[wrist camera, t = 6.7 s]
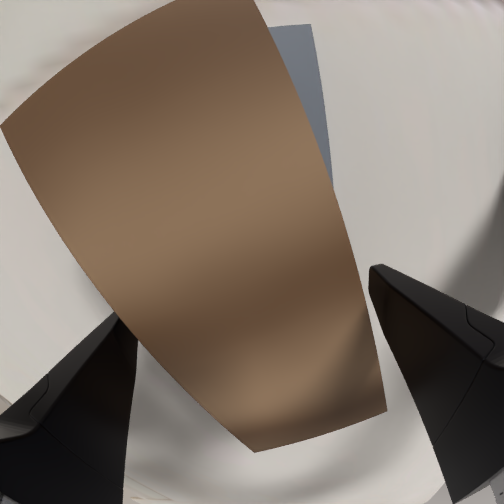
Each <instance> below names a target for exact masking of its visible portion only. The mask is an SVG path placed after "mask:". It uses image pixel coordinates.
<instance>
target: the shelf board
mask: <svg viewBox="0 0 504 504" xmlns="http://www.w3.org/2000/svg"><path fill="white" fill-rule="evenodd" d="M0 128H1V130H2V132H3V134H4V136H5V139H6V141H7V143H8V145H9V147H10V149H11V151H12V153H13V155H14V157H15V159H16V161H17V163H18V165H19V167H20V169H21V171H22V173H23V174H24V176H25V178H26V180H27V182H28V184H29V185H30V187H31V189H32V191H33V193H34V194H35V196H36V198H37V200H38V201H39V203H40V205H41V206H42V208H43V210H44V211H45V213H46V215H47V216H48V218H49V220H50V221H51V223H52V224H53V226H54V228H55V229H56V231H57V232H58V234H59V235H60V237H61V238H62V240H63V241H64V243H65V244H66V246H67V247H68V249H69V250H70V252H71V253H72V255H73V256H74V258H75V259H76V261H77V262H78V263H79V265H80V266H81V268H82V269H83V271H84V272H85V273H86V275H87V276H88V277H89V279H90V280H91V281H92V283H93V284H94V286H95V287H96V288H97V290H98V291H99V292H100V293H101V295H102V296H103V297H104V299H105V300H106V301H107V303H108V304H109V305H110V306H111V308H112V309H113V310H114V311H115V313H116V314H117V315H118V316H119V318H120V319H121V320H122V321H123V322H124V324H125V325H126V326H127V327H128V328H129V330H130V331H131V332H132V333H133V334H134V335H135V337H136V338H137V339H138V340H139V341H140V342H141V344H142V345H143V346H144V347H145V348H146V349H147V350H148V351H149V353H150V354H151V355H152V356H153V357H154V358H155V359H156V360H157V361H158V362H159V364H160V365H161V366H162V367H163V368H164V369H165V370H166V371H167V372H168V373H169V374H170V375H171V376H172V377H173V378H174V379H175V380H176V381H177V382H178V383H179V384H180V385H181V386H182V387H183V389H184V390H185V391H186V392H188V393H189V394H190V395H191V396H192V397H193V398H194V399H195V400H196V401H197V402H198V403H199V404H200V405H201V406H202V407H203V408H204V409H205V410H206V411H207V412H208V413H209V414H210V415H211V416H213V417H214V418H215V419H216V420H217V421H218V422H219V423H220V424H221V425H222V426H224V427H225V428H226V429H227V430H228V431H229V432H230V433H232V434H233V435H234V436H235V437H236V438H237V439H238V440H240V441H241V442H242V443H243V444H244V445H246V446H247V447H248V448H249V449H250V450H252V451H253V452H254V453H255V452H260V451H264V450H269V449H273V448H277V447H281V446H285V445H289V444H293V443H296V442H300V441H304V440H307V439H310V438H314V437H317V436H320V435H324V434H327V433H330V432H333V431H336V430H339V429H342V428H345V427H347V426H350V425H353V424H356V423H358V422H361V421H364V420H366V419H369V418H372V417H374V416H377V415H379V414H381V413H384V412H386V411H387V406H386V399H385V393H384V387H383V382H382V376H381V371H380V365H379V360H378V355H377V350H376V345H375V341H374V336H373V331H372V327H371V322H370V318H369V314H368V309H367V305H366V301H365V297H364V293H363V289H362V285H361V281H360V277H359V273H358V270H357V266H356V262H355V259H354V255H353V251H352V248H351V244H350V241H349V238H348V234H347V231H346V227H345V224H344V221H343V218H342V214H341V211H340V208H339V205H338V202H337V199H336V196H335V193H334V190H333V187H332V184H331V181H330V178H329V175H328V172H327V169H326V166H325V163H324V161H323V158H322V155H321V152H320V150H319V147H318V144H317V141H316V139H315V136H314V133H313V131H312V128H311V126H310V123H309V121H308V118H307V115H306V113H305V110H304V108H303V106H302V103H301V101H300V98H299V96H298V93H297V91H296V89H295V86H294V84H293V82H292V79H291V77H290V75H289V73H288V70H287V68H286V66H285V64H284V61H283V59H282V57H281V55H280V53H279V50H278V48H277V46H276V44H275V42H274V40H273V38H272V36H271V34H270V32H269V29H268V27H267V25H266V23H265V21H264V19H263V17H262V15H261V13H260V12H259V10H258V8H257V6H256V4H255V2H254V0H175V1H173V2H171V3H169V4H167V5H165V6H162V7H160V8H158V9H157V10H155V11H153V12H151V13H149V14H147V15H145V16H143V17H141V18H140V19H138V20H136V21H134V22H132V23H131V24H129V25H127V26H125V27H124V28H122V29H120V30H119V31H117V32H116V33H114V34H112V35H111V36H109V37H108V38H106V39H104V40H103V41H101V42H100V43H98V44H97V45H95V46H94V47H92V48H91V49H89V50H88V51H87V52H85V53H84V54H82V55H81V56H80V57H78V58H77V59H75V60H74V61H73V62H71V63H70V64H69V65H67V66H66V67H65V68H63V69H62V70H61V71H60V72H58V73H57V74H56V75H55V76H53V77H52V78H51V79H50V80H49V81H47V82H46V83H45V84H44V85H43V86H41V87H40V88H39V89H38V90H37V91H36V92H35V93H33V94H32V95H31V96H30V97H29V98H28V99H27V100H26V101H25V102H24V103H22V104H21V105H20V106H19V107H18V108H17V109H16V110H15V111H14V112H13V113H12V114H11V115H10V116H9V117H8V118H7V119H6V120H5V121H4V122H3V123H2V124H1V125H0Z"/></svg>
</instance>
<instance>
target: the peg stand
mask: <svg viewBox="0 0 504 504" xmlns="http://www.w3.org/2000/svg"><path fill="white" fill-rule="evenodd" d="M268 29H269V32H270V34H271V36H272V38H273V40H274V42H275V44H276V46H277V48H278V50H279V53H280V55H281V57H282V59H283V61H284V64H285V66H286V68H287V70H288V73H289V75H290V77H291V79H292V82H293V84H294V86H295V89H296V91H297V93H298V96H299V98H300V101H301V103H302V106H303V108H304V110H305V113H306V115H307V118H308V121H309V123H310V126H311V128H312V131H313V133H314V136H315V139H316V141H317V144H318V147H319V150H320V152H321V155H322V158H323V161H324V163H325V166H326V169H327V172H328V175H329V178H330V181H331V184H332V187H333V178H332V167H331V157H330V147H329V138H328V130H327V121H326V114H325V106H324V99H323V92H322V85H321V79H320V73H319V67H318V61H317V55H316V49H315V44H314V39H313V33H312V28H311V24H303V25H289V26H278V27H268ZM333 190H334V189H333Z"/></svg>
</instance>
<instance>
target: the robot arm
mask: <svg viewBox="0 0 504 504" xmlns="http://www.w3.org/2000/svg"><path fill="white" fill-rule="evenodd" d="M368 289H369V295H370V297H371V300H372V303H373V306H374V308H375V311H376V314H377V317H378V320H379V323H380V325H381V328H382V331H383V334H384V336H385V338H386V340H387V342H388V344H389V346H390V349H391V351H392V353H393V355H394V357H395V359H396V361H397V363H398V366H399V368H400V370H401V372H402V374H403V377H404V379H405V381H406V383H407V386H408V388H409V390H410V392H411V395H412V397H413V399H414V402H415V404H416V406H417V409H418V411H419V414H420V416H421V418H422V421H423V423H424V426H425V428H426V431H427V433H428V436H429V438H430V441H431V443H432V446H433V449H434V452H435V454H436V457H437V460H438V462H439V465H440V468H441V471H442V474H443V476H444V479H445V482H446V485H447V488H448V491H449V494H450V497H451V500H452V502H453V504H455V503H457V502H459V501H461V500H463V499H465V498H467V497H469V496H471V495H473V494H474V493H476V492H478V491H480V490H482V489H483V488H485V487H487V486H488V485H490V486H491V488H492V490H493V493H494V496H495V498H496V503H497V504H504V323H503V322H501V321H499V320H497V319H494V318H492V317H490V316H488V315H486V314H484V313H482V312H480V311H478V310H476V309H474V308H472V307H470V306H468V305H467V306H466V305H465V304H464V303H462V302H460V301H458V300H456V299H454V298H452V297H450V296H448V295H446V294H444V293H442V292H440V291H438V290H436V289H434V288H432V287H430V286H428V285H426V284H424V283H422V282H420V281H418V280H415V279H413V278H411V277H409V276H407V275H405V274H403V273H401V272H399V271H397V270H395V269H392V268H390V267H388V266H386V265H384V264H378V265H373V266H371V267H370V269H369V286H368ZM137 347H138V339H137V338H136V337H135V335H134V334H133V333H132V332H131V331H130V330H129V328H128V327H127V326H126V325H125V324H124V322H123V321H122V320H121V319H120V318H119V316H118V315H117V314H116V313H115V311H114V312H113V313H112V314H111V315H110V316H109V317H108V318H107V319H105V320H104V321H103V322H102V323H101V324H100V325H99V326H98V327H97V328H95V329H94V330H93V331H92V332H91V333H90V334H89V335H88V336H87V337H86V338H84V339H83V340H82V341H81V342H80V343H79V344H78V345H77V346H76V347H75V348H74V349H73V350H71V351H70V352H69V353H68V354H67V355H66V356H65V357H64V358H63V359H62V360H61V361H60V362H59V363H58V364H57V365H55V366H54V367H53V368H52V369H51V370H50V371H49V372H48V374H46V375H45V376H44V377H43V378H42V379H41V380H40V381H39V382H38V383H36V384H35V385H34V386H33V387H32V388H31V389H30V390H29V391H28V392H27V393H25V394H24V395H23V396H22V397H21V398H20V399H18V400H17V401H16V402H15V403H14V404H13V405H11V406H10V407H9V408H8V409H7V410H6V411H4V412H3V413H2V414H1V415H0V504H123V484H124V470H125V458H126V448H127V438H128V429H129V421H130V413H131V405H132V398H133V391H134V384H135V377H136V366H137Z"/></svg>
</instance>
